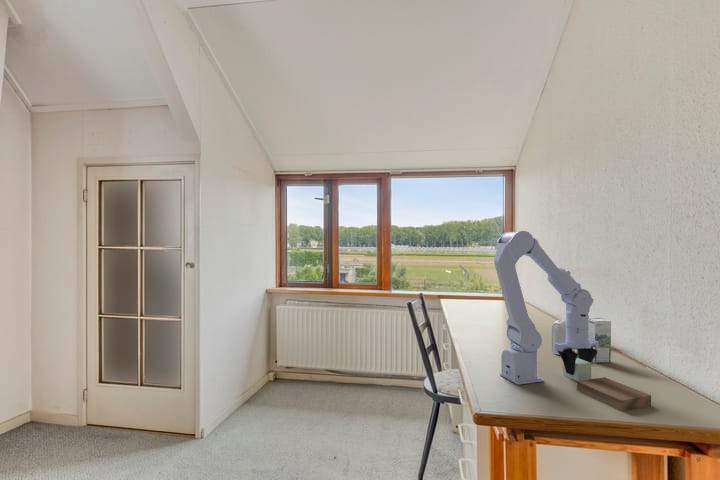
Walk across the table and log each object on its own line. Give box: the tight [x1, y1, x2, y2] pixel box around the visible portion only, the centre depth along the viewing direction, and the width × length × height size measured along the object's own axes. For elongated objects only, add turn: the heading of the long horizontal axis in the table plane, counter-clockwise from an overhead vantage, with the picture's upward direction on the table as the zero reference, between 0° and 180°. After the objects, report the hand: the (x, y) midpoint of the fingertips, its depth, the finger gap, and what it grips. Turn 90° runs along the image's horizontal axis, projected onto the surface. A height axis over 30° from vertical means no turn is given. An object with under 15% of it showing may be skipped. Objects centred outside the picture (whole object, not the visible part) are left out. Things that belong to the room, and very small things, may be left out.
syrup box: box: [588, 316, 612, 364], centre depth 118 cm, size 6×6×14 cm
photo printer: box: [551, 318, 575, 356], centre depth 127 cm, size 10×4×12 cm, turn 123°
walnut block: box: [576, 376, 652, 412], centre depth 90 cm, size 10×12×3 cm
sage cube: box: [563, 357, 592, 382], centre depth 103 cm, size 5×5×5 cm
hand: (577, 372), depth 103 cm, fingers closed on sage cube, 5 cm apart
